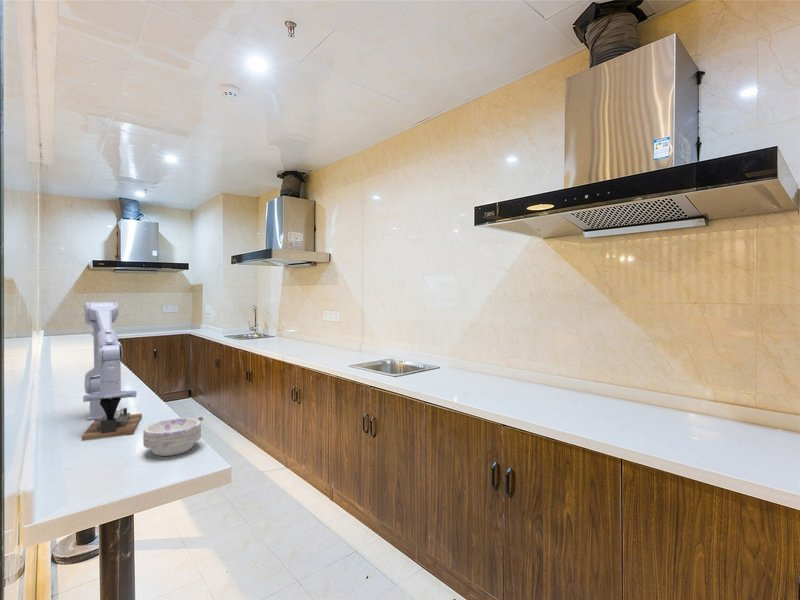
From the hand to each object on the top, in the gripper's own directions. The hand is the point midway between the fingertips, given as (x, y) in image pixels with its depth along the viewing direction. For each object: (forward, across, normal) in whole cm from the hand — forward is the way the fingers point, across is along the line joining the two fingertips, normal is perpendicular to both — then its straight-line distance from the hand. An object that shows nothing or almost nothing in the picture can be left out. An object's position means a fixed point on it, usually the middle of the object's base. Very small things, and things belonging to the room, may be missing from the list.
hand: (110, 420), depth 136 cm
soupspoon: (+5, +24, -8) cm, 25 cm away
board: (+4, 0, +6) cm, 7 cm away
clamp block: (+3, 0, +4) cm, 5 cm away
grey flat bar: (+1, 0, +5) cm, 5 cm away
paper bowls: (+5, +20, -26) cm, 33 cm away
